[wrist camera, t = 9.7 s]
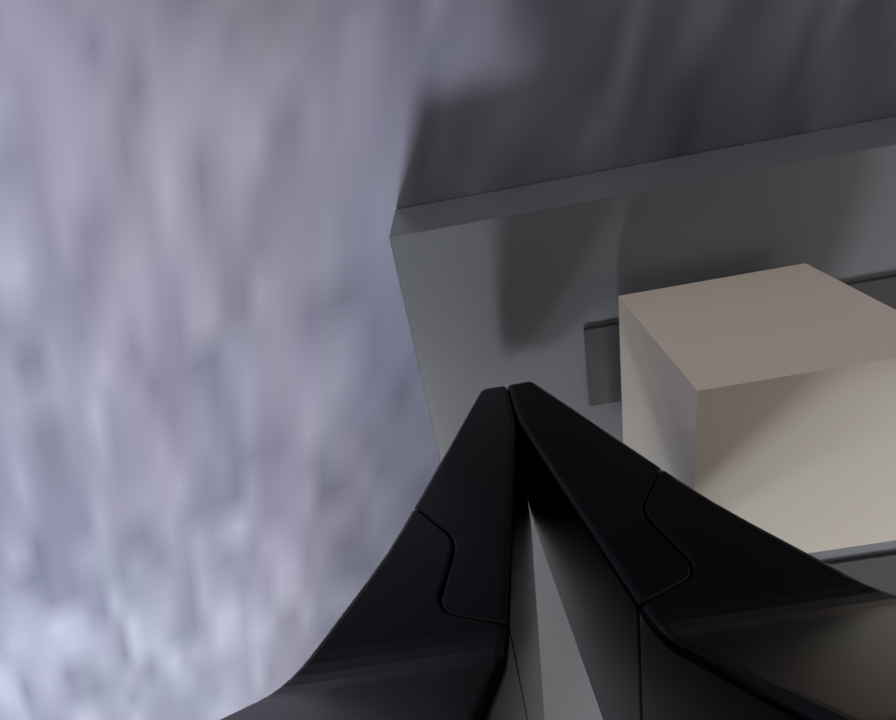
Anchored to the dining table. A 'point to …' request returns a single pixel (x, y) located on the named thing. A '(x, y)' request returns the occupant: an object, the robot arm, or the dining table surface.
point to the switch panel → (630, 291)
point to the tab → (769, 400)
